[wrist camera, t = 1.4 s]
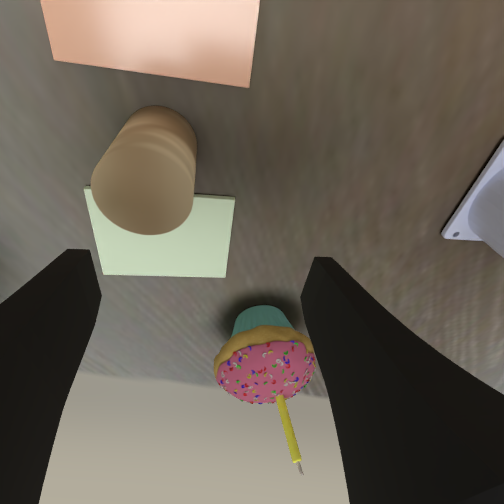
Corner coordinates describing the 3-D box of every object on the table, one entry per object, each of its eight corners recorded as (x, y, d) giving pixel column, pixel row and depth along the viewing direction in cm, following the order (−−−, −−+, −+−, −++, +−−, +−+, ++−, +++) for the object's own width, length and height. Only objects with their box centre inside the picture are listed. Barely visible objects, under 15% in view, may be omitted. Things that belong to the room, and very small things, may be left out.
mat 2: (234, 197, 19) (234, 199, 19) (224, 274, 24) (225, 277, 23) (85, 185, 18) (83, 189, 18) (104, 270, 22) (103, 274, 22)
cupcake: (320, 314, 29) (372, 459, 20) (258, 355, 32) (279, 495, 23) (257, 276, 24) (287, 439, 15) (194, 327, 28) (188, 486, 19)
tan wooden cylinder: (198, 110, 16) (194, 153, 11) (196, 179, 18) (192, 237, 14) (119, 101, 15) (80, 142, 11) (128, 173, 18) (100, 232, 13)
